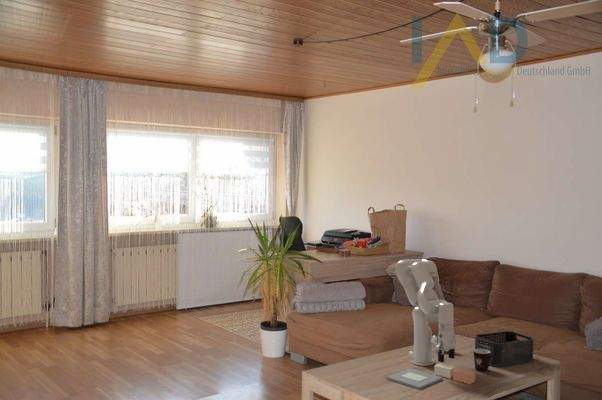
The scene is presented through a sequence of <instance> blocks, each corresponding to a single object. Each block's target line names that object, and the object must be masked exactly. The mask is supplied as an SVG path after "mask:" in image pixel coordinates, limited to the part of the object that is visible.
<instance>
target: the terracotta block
mask: <svg viewBox="0 0 602 400" xmlns="http://www.w3.org/2000/svg"><path fill="white" fill-rule="evenodd" d="M452 380H453V381H455V382H459V383H463V382H464V384H466V383H467V385H472V384H473V383H475V382H476V371H475V370H470V369H465V368H461V367H458V368H457V367H456V369H455V370H453V378H452Z"/></svg>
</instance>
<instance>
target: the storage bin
mask: <svg viewBox="0 0 602 400" xmlns="http://www.w3.org/2000/svg"><path fill="white" fill-rule="evenodd" d="M518 337H519V338H523V340H522V339H518ZM474 349H485V350H489V351H490V356H494V357H496V362H495V358H494V357H490V359H489V365H490V364H493V363H494V362H495V363H494V364H493V365H491V366H493V367H496V368H497V367H499V368H500V367H508V366H515V365H523V364H527V363H533V361H534V337H532V336H528V335H525V334H523V333H520V332H516V331H513V330H512V331H511V330H505V331H496V332H487V333H479V334H478V333H477V334H475V335H474Z"/></svg>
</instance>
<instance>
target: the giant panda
mask: <svg viewBox="0 0 602 400" xmlns="http://www.w3.org/2000/svg"><path fill="white" fill-rule="evenodd" d="M432 344H434V345H436V346H437V345H438V334H434V335H432ZM441 351H442V350H441ZM446 353H447V354H449V350H447V352H446Z"/></svg>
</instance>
